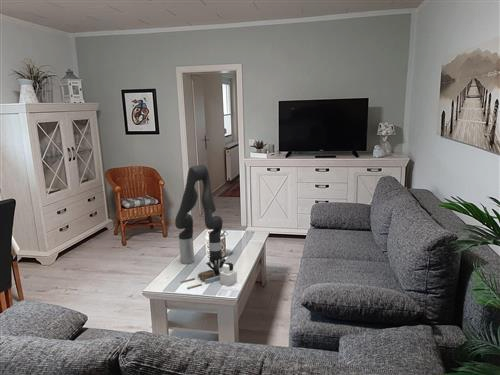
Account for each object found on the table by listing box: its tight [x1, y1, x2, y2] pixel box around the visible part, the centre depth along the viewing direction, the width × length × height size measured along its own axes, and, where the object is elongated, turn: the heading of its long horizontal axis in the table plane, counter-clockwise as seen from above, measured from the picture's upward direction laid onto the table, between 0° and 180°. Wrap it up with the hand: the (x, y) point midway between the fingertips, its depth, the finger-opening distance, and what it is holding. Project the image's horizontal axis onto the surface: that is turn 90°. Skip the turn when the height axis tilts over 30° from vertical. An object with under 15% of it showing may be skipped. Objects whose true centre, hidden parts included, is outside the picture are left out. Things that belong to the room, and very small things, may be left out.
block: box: [199, 269, 216, 283], centre depth 232 cm, size 4×8×4 cm, turn 123°
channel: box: [197, 269, 220, 285], centre depth 233 cm, size 12×12×2 cm
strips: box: [180, 277, 203, 290], centre depth 227 cm, size 11×9×1 cm
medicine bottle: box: [219, 262, 238, 287], centre depth 225 cm, size 7×7×12 cm
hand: (216, 275), depth 235 cm, fingers closed
